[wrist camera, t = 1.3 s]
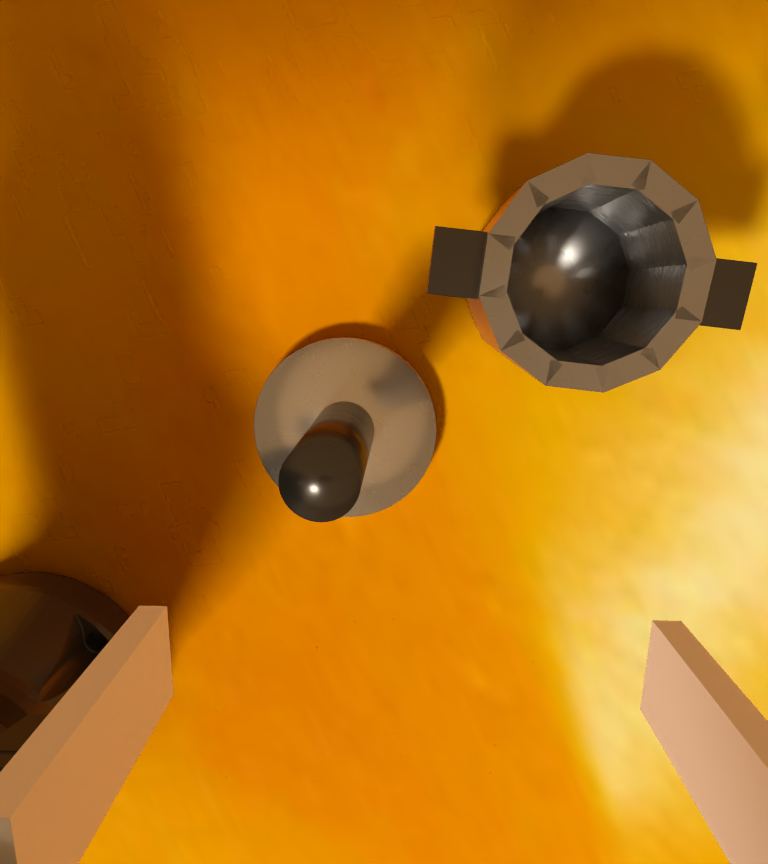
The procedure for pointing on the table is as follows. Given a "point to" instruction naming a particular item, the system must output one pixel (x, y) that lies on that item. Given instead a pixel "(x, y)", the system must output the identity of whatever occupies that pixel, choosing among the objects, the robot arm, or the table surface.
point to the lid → (344, 428)
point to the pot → (592, 273)
